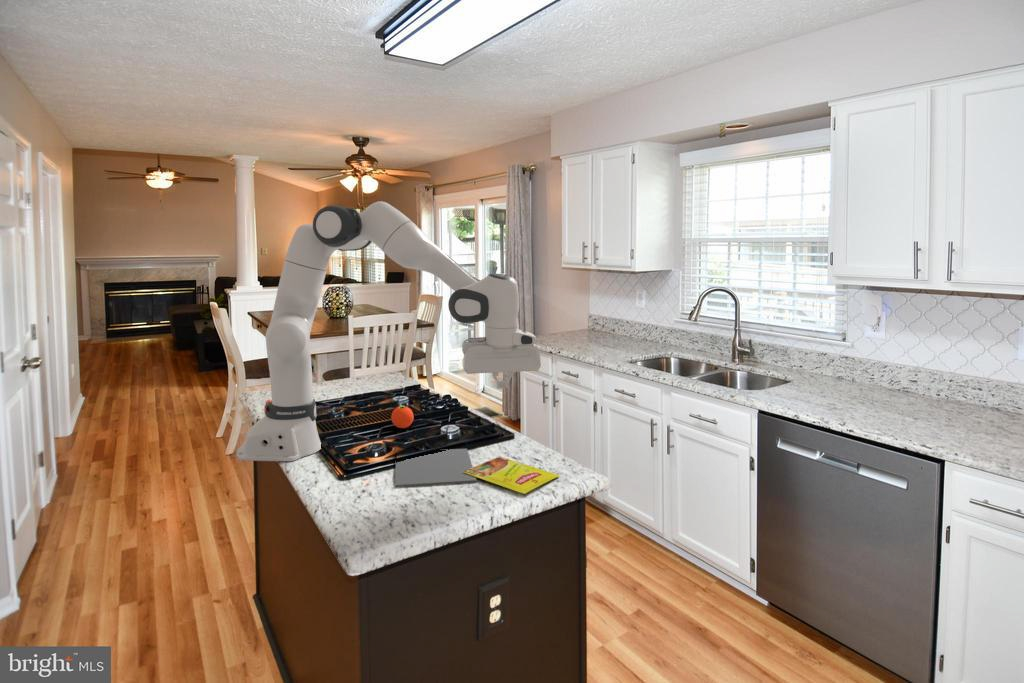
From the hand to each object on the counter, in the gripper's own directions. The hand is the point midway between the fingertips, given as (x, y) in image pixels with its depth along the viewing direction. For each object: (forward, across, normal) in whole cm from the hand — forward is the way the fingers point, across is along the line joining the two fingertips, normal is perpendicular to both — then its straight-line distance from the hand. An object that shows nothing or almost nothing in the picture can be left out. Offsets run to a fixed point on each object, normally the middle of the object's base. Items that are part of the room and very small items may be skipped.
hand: (502, 388), depth 164 cm
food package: (+20, -6, -1) cm, 21 cm away
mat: (+21, -18, 0) cm, 28 cm away
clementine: (+21, -26, +34) cm, 48 cm away
